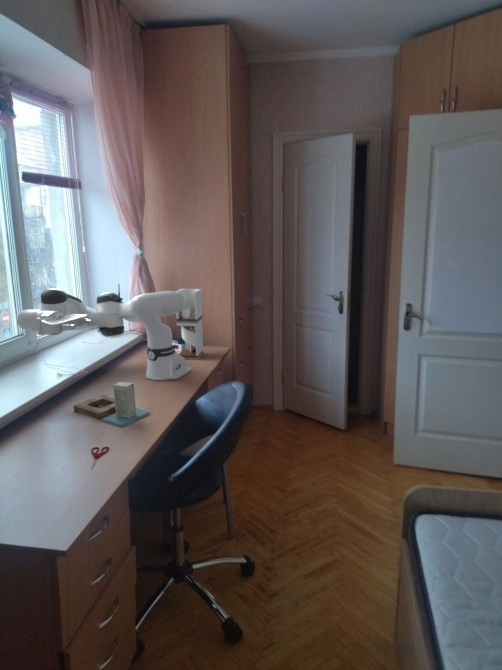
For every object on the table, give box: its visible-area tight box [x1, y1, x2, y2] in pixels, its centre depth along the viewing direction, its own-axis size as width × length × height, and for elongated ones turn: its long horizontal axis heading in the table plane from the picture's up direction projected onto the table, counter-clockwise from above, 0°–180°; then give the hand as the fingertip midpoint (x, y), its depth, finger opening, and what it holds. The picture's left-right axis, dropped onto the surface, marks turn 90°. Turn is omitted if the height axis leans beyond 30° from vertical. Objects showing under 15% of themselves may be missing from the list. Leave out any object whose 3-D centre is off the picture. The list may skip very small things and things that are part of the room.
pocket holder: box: [73, 394, 116, 421], centre depth 186 cm, size 14×14×2 cm
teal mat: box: [101, 407, 151, 428], centre depth 179 cm, size 14×10×1 cm
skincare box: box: [112, 381, 137, 418], centre depth 177 cm, size 6×4×12 cm
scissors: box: [90, 446, 110, 471], centre depth 149 cm, size 5×14×1 cm, turn 5°
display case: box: [175, 288, 204, 361], centre depth 252 cm, size 11×11×35 cm
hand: (82, 325), depth 183 cm, fingers open, 8 cm apart
